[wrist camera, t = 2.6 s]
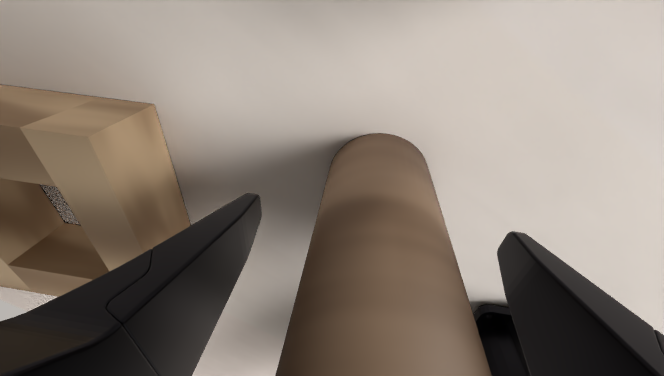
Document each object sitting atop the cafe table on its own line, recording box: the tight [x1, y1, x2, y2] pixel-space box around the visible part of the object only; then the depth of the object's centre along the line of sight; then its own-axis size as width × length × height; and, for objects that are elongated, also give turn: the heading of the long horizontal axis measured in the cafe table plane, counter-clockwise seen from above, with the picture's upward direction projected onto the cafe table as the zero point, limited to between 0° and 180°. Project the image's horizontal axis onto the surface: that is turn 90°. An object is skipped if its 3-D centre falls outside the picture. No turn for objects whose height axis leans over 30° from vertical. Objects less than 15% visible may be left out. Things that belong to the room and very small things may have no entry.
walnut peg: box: [276, 133, 492, 376], centre depth 8 cm, size 4×4×8 cm
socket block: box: [0, 85, 191, 296], centre depth 13 cm, size 10×16×3 cm, turn 85°
